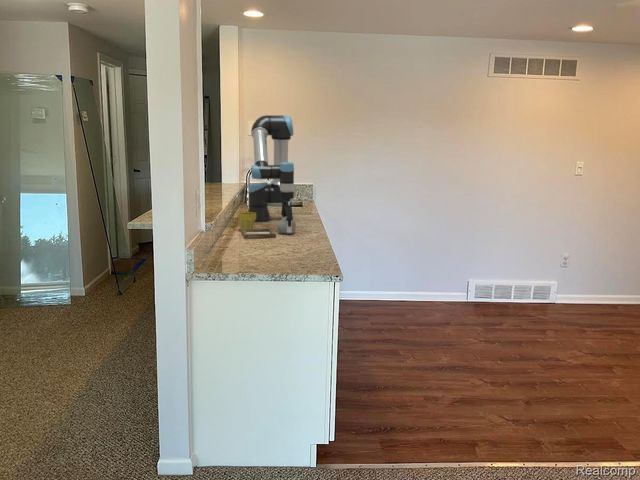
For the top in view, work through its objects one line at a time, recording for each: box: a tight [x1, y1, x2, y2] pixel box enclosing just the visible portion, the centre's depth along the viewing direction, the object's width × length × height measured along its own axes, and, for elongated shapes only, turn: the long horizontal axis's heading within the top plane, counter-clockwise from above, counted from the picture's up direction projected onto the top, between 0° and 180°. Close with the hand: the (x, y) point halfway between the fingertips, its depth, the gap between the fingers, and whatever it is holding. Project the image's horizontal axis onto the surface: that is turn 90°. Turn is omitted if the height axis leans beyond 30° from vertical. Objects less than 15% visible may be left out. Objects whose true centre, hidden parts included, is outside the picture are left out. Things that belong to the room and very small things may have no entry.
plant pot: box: [237, 211, 256, 232], centre depth 289 cm, size 10×10×10 cm
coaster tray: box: [241, 228, 277, 240], centre depth 274 cm, size 16×16×2 cm
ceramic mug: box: [277, 218, 297, 235], centre depth 282 cm, size 11×8×8 cm
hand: (286, 230), depth 282 cm, fingers open, 13 cm apart
